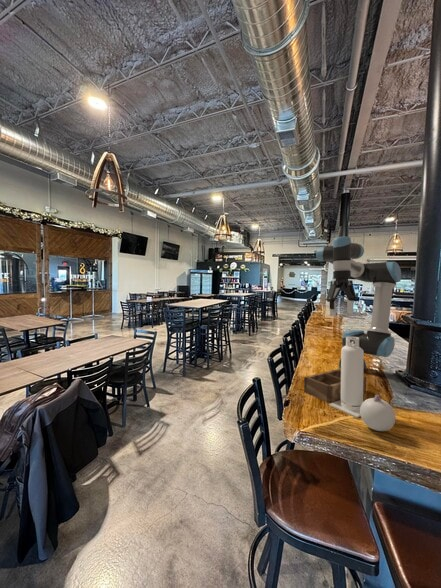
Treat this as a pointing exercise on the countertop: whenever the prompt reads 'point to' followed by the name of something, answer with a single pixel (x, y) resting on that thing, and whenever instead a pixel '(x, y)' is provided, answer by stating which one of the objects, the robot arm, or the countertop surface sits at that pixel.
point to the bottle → (352, 375)
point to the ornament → (377, 414)
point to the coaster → (339, 407)
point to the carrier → (326, 385)
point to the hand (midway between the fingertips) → (341, 315)
